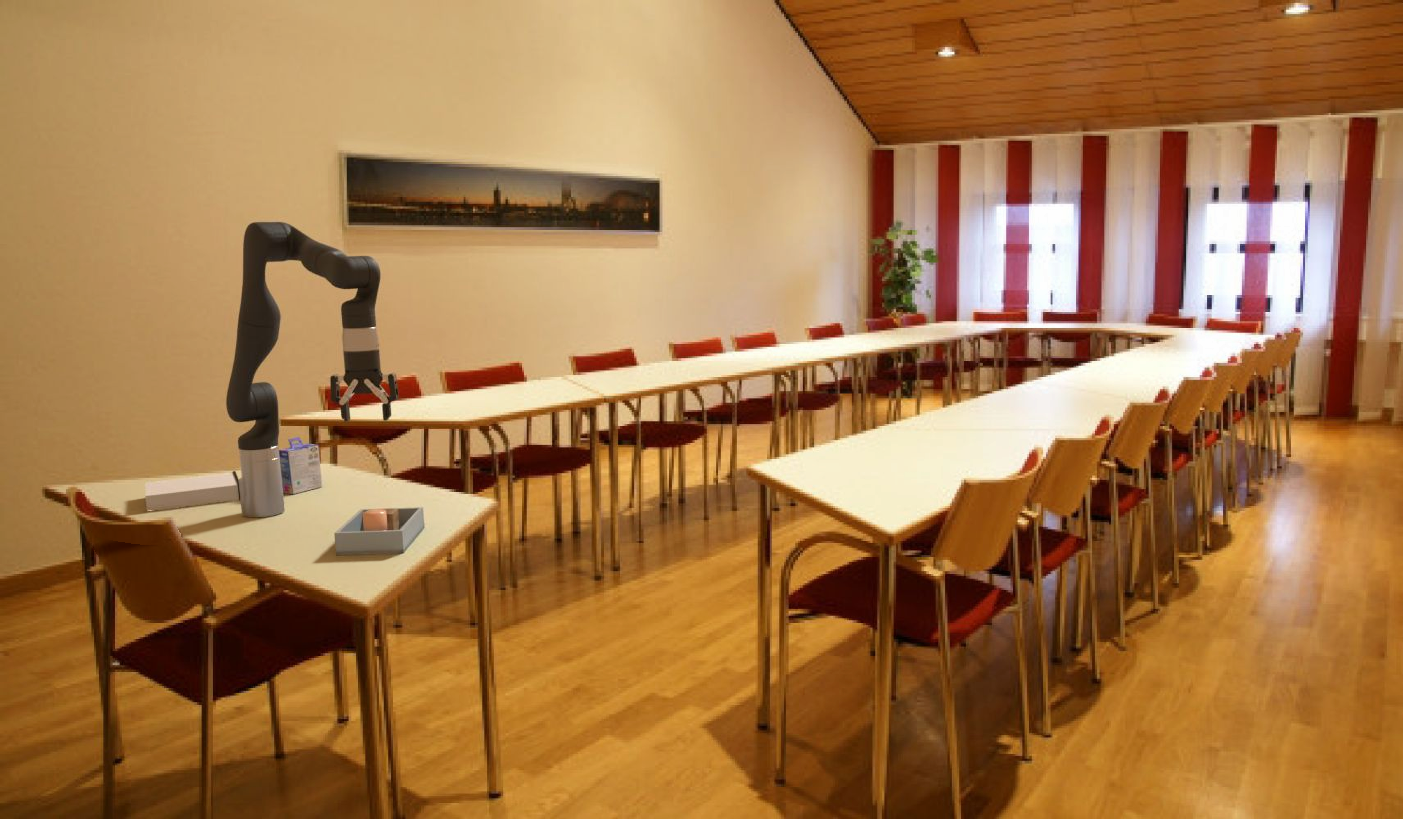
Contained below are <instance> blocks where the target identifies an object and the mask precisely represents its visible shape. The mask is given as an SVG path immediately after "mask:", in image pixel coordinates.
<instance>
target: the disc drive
mask: <svg viewBox="0 0 1403 819" xmlns="http://www.w3.org/2000/svg"><path fill="white" fill-rule="evenodd" d="M239 479H240V478H239V477H238V474H237V471H236V470H232V472H225V473H224V472H223V473H215V474H214V473H213V474H206V475H198V476H190V477H180V478H172V479H163V480H155V481H146V482H145V484H144V487H145V488H144V489H145V490H144V494H145V495H144V496H145V504H146V505H145V506H146V511H147V510H158V511H164V510H165V509H166V510H171V509H170V508H173V509H178V508H177V507H181V508H185V507H184V506H189V507H194V506H196V505H197V506H204V505H209V504H208V503H212V504H216V503H215V502H220V503H222V502H221V501H227V502H233V501H234V502H235V501H241V500H240V491H239Z"/></svg>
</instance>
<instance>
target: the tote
mask: <svg viewBox="0 0 1403 819" xmlns="http://www.w3.org/2000/svg"><path fill="white" fill-rule="evenodd" d="M393 508H394V507H393ZM393 508H392V507H389V508H388V507H387V508H385V507H384V508H383V509H393ZM397 508H398V514H399V527H400V529H399V530H384V531H364V524H363V512H365V511H368V510H375V509H376V508H360V510H358V511H357V512H356V513H355V514H354V515H352V516H351V517H350V518H349V519H348V520H347V521H346V522H345V523H344V524H343V525H342V526H341V527H339V528H338V529H337V530H336V531H335V532H334V543H335V556H350V555H352V556H354V555H355V556H357V555H384V554H385V555H386V554H387V555H388V554H405V552H406V551H407V550H408V548H410V546H411V545H412V544H413V543H414V541H415V540H416V538H418V537H419V535H420V534H421V533H422V532H423V530H424V529H425V519H424V518H425V516H424V507H423V506H418V507H417V506H416V507H397Z"/></svg>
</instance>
